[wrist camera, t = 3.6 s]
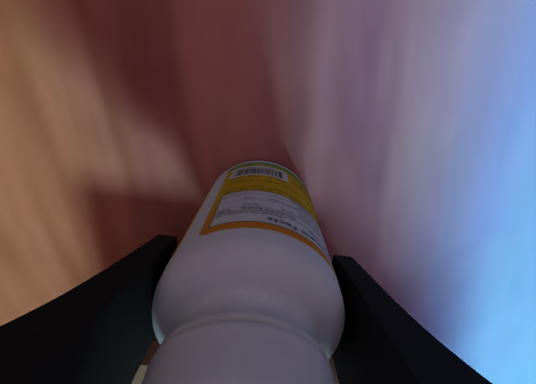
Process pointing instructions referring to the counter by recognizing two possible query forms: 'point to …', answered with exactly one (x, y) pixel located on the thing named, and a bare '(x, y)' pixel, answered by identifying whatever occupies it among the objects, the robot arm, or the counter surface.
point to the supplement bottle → (249, 288)
